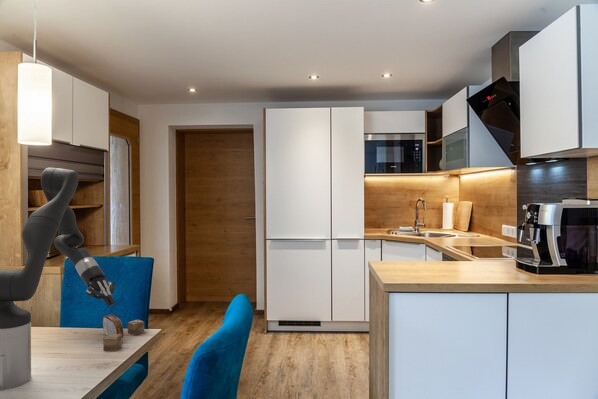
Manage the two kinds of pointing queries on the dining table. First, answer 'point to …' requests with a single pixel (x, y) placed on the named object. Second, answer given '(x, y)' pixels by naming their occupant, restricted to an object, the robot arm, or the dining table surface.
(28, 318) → the robot arm
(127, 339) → the dining table surface
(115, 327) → the tin
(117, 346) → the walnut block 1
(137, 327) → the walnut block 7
